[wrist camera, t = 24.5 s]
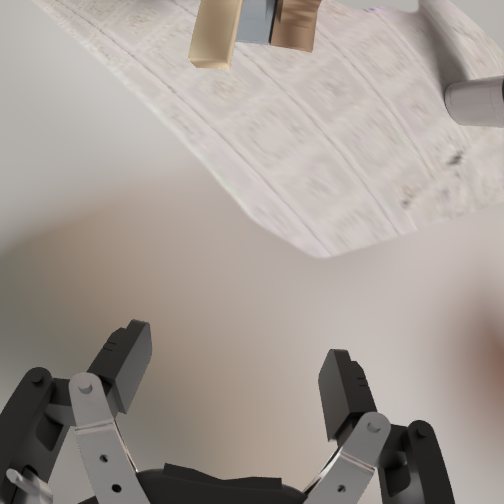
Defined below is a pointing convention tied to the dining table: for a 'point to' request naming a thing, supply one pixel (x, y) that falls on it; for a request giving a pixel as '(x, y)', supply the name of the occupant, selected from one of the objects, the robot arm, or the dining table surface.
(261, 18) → the low stand
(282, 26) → the tall stand
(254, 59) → the dining table surface
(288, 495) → the robot arm
